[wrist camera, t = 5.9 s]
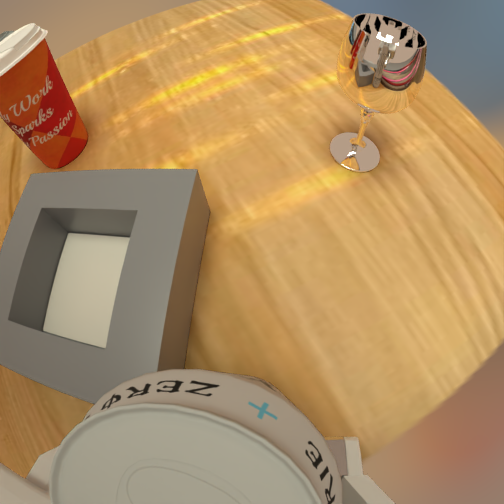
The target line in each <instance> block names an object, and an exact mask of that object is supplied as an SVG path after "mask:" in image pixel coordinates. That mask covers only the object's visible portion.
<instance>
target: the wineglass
mask: <svg viewBox="0 0 504 504" xmlns="http://www.w3.org/2000/svg"><path fill="white" fill-rule="evenodd" d="M426 52H427V42H426V40H425V38H424V37H423V36H422V35H421V34H420V33H419V32H418V31H417V30H415V29H414V28H412V27H411V26H409V25H407V24H405V23H403V22H400V21H398V20H396V19H393V18H390V17H386V16H382V15H377V14H359V15H356V16H355V17H354V18H353V20H352V22H351V24H350V26H349V28H348V30H347V32H346V34H345V36H344V39H343V41H342V44H341V47H340V50H339V53H338V59H337V79H338V82H339V85H340V87H341V89H342V90H343V92H344V93H345V95H346V96H347V97H348V98H349V99H350V100H351V101H352V102H354V103H355V104H357V105H358V106H360V107H362V109H361V114H360V115H361V125H360V129H359V132H358V134H357V133H352V132H345V133H341V134H338V135H336V136H335V137H334V138H333V139H332V141H331V143H330V153H331V155H332V157H333V158H334V160H335V161H336V162H337V163H338V164H340V165H341V166H343V167H344V168H346V169H348V170H351V171H355V172H367V171H371V170H373V169H374V168H376V166H377V165H378V164H379V161H380V153H379V150H378V148H377V147H376V145H375V144H374V143H373V142H372V141H371V140H370V139H368V138H367V137H365V136H363V135H364V132H365V129H366V127H367V125H368V123H369V122H370V120H371V119H372V118H373V116H374V112H375V113H381V114H391V113H396V112H399V111H401V110H403V109H405V108H407V107H408V106H409V105H410V104H411V103H412V102H413V101H414V99H415V97H416V96H417V94H418V92H419V90H420V87H421V84H422V81H423V77H424V72H425V65H426Z"/></svg>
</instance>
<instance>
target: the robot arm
mask: <svg viewBox="0 0 504 504" xmlns="http://www.w3.org/2000/svg"><path fill="white" fill-rule="evenodd" d="M324 438H325V440H326V442H327V444H328V446H329V447H330V449H331V451H332V453H333V455H334V457H335V459H336V461H337V465H338V469H339V472H340V476H341V480H342V504H395V503H394V502H393V501H392V500H391V499H390V498H389V497H388V496H387V495H386V494H385V493H384V491H382V489H381V488H380V487H379V486H378V485H377V484H376V483H375V482H374V481H373V480H372V479H371V478H370V477H369V476H368V475H363V467H362V459H361V452H360V445H359V439H358V438H357V437H324ZM58 448H59V446H58V447H56V448H54V449H51V450H49V451H47V452H45V453H43V454H41V455H40V456H39V457H38V459H37V460H36V462H35V464H34V465H33V467H32V469H31V470H30V472H29V474H28V475H27V477H26V479H25V478H23V477H21V476H20V475H18V474H17V473H15V472H14V471H12V470H11V469H9V468H8V467H6V466H5V465H3V464H2V463H1V462H0V504H51V500H50V495H49V475H50V471H51V466H52V462H53V458H54V455H55V453H56V452H57V450H58Z"/></svg>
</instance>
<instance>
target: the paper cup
mask: <svg viewBox="0 0 504 504" xmlns="http://www.w3.org/2000/svg"><path fill="white" fill-rule="evenodd" d="M47 32H48V31H47V30H44V29H41V27H40V26H38V27H37V26H36V25H35V24H33V23H32V24H28V25H26V26H24V27H22V28H20V29H18V30H17V31H15V32H13V33H12V34H10V35H9V36H7V37H6V38H5V39H3V40H2V41H1V42H0V117H1V118H2V119H3V120H4V121H5V122H6V123H7V125H8V126H9V127H10V128H11V129H12V130H13V131H14V132H15V133H16V135H17V136H18V137H19V138H20V139H21V140H22V141H23V142H24V143H25V144H26V145H27V146H28V148H29V149H30V150H31V151H32V152H33V153H34V154H35V155H36V156H37V157H38V158H39V159H40V160H41V161H42V162H43V163H44V164H45V165H46V166H48V167H49V168H52V169H56V168H61V167H63V166H65V165H67V164H69V163H70V162H72V161H73V160H74V159H75V158H76V157H77V156H78V155H79V154H80V153H81V152H82V150H83V149H84V147H85V146H86V143H87V140H88V134H87V131H86V129H85V126H84V124H83V122H82V120H81V118H80V116H79V114H78V112H77V109H76V107H75V105H74V103H73V101H72V99H71V97H70V95H69V93H68V90H67V88H66V86H65V84H64V82H63V79H62V77H61V75H60V73H59V71H58V68H57V66H56V64H55V61H54V59H53V57H52V54H51V52H50V50H49V47H48V45H47V42H46V40H45V37H46V35H47Z"/></svg>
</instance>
